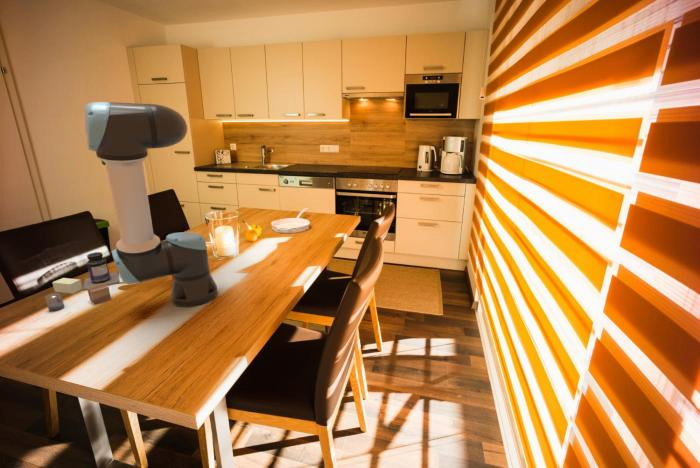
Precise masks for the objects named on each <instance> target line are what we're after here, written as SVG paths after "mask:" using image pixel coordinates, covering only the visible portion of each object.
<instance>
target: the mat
mask: <svg viewBox="0 0 700 468" xmlns="http://www.w3.org/2000/svg"><path fill="white" fill-rule="evenodd" d="M109 274H110V279H109V280H108V281H106V282H102V283H105V284H106V285H107V286H108V287H109V286H111V285H112V286H113V285H117V284H120V274H119V272H112V273H109ZM102 283H92V282H91V278H90V277H87V278H85V279H84V283H83V289H82V290H83V291H88V290H87V288H88V287H92V286H95V285H99V284H102Z"/></svg>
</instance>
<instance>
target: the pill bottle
mask: <svg viewBox="0 0 700 468" xmlns="http://www.w3.org/2000/svg"><path fill="white" fill-rule="evenodd" d="M103 255H104V254H103V253H102V252H101V251H100V252H99V251H98V252H96V251H95V252H91V253H88V254H87V255H86V257H87V260H88V261H86V266H87V270H88V274H89V278H91V282H92V283H102V282H106V281H108V280H109V279H110V274H111V273H110V271H109V267H108V261H107V259H106V258H104V256H103Z"/></svg>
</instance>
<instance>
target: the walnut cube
mask: <svg viewBox="0 0 700 468" xmlns="http://www.w3.org/2000/svg"><path fill="white" fill-rule="evenodd" d="M86 291H87V294H88V296H89V301H90V302H91V303H92V304H93V305H94V306H97V305H99V304H103V303H106V302H109V301H111V300H112V296H111V293H110V288H109V285H108V286H107V285H106V284H105V283H102V284H99V285H95V286H92V287H88V288H87V290H86Z"/></svg>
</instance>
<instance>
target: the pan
mask: <svg viewBox="0 0 700 468" xmlns="http://www.w3.org/2000/svg"><path fill="white" fill-rule="evenodd" d="M308 210H309V208H306V207H305V208H303V209H302V210H300V212H299V213H298V215H297V216H296V217H289V218H288V217H287V218H280V219H276V220H273V221H271V222H270V223H271V224H270V225H271V228H272V231H273V232H275V233H278V234H279V233H280V234H296V233H301V232H305V231H307V230H309V228H310V224H311V222H310V220H308V219H307V218H302V217H301V216H302V215H303V213H305V212H307V211H308Z"/></svg>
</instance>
